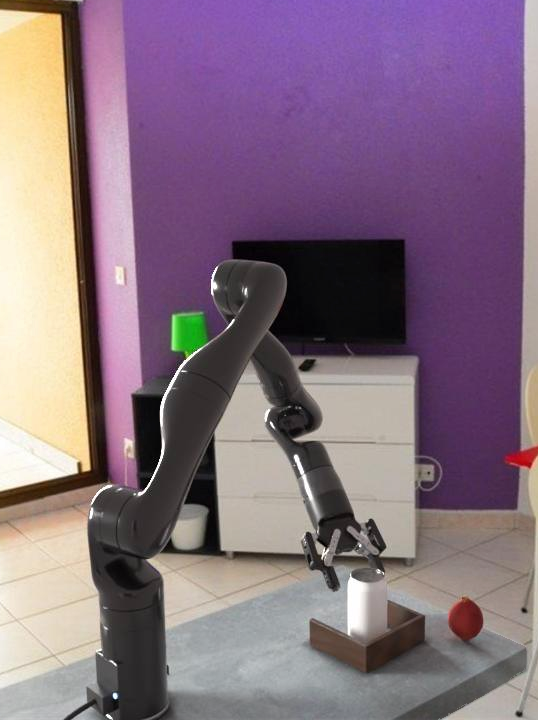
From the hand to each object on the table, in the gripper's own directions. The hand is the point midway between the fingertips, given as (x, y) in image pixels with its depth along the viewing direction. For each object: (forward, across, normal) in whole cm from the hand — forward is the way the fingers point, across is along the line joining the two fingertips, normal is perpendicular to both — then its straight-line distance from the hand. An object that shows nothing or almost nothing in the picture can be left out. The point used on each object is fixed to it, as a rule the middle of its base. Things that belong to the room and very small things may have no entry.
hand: (359, 584), depth 151 cm
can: (+8, 0, +5) cm, 10 cm away
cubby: (+8, 0, +5) cm, 10 cm away
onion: (+14, +14, 0) cm, 20 cm away
